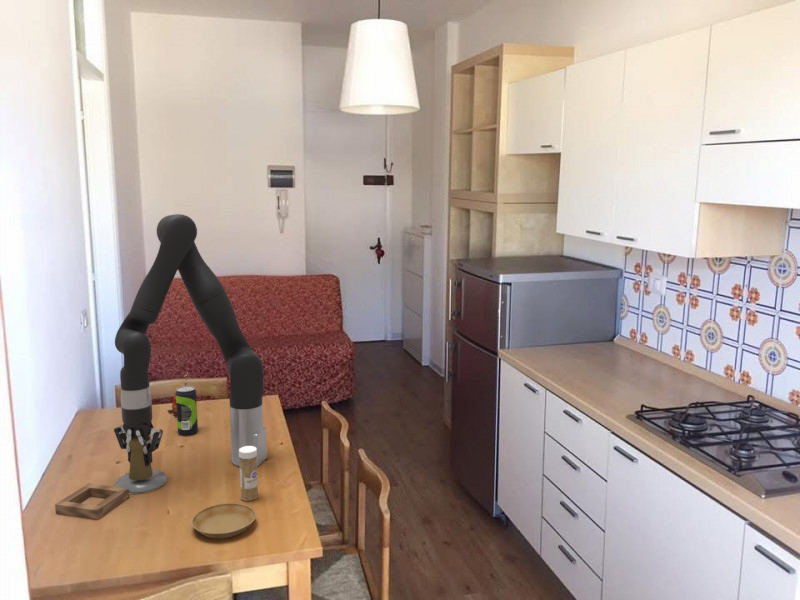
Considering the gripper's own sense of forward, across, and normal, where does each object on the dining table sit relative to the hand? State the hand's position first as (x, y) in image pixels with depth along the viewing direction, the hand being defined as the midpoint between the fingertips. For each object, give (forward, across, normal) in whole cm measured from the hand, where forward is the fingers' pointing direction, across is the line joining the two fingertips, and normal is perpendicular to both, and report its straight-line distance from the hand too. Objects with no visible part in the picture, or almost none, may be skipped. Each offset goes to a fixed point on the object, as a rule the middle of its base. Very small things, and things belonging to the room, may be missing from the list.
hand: (140, 464), depth 180 cm
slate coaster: (+6, 0, 0) cm, 6 cm away
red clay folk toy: (+6, +19, -51) cm, 55 cm away
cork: (+3, 0, 0) cm, 3 cm away
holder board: (+5, +4, +14) cm, 16 cm away
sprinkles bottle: (+6, -32, 0) cm, 32 cm away
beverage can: (+6, +8, -36) cm, 37 cm away
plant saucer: (+6, -33, +15) cm, 37 cm away
